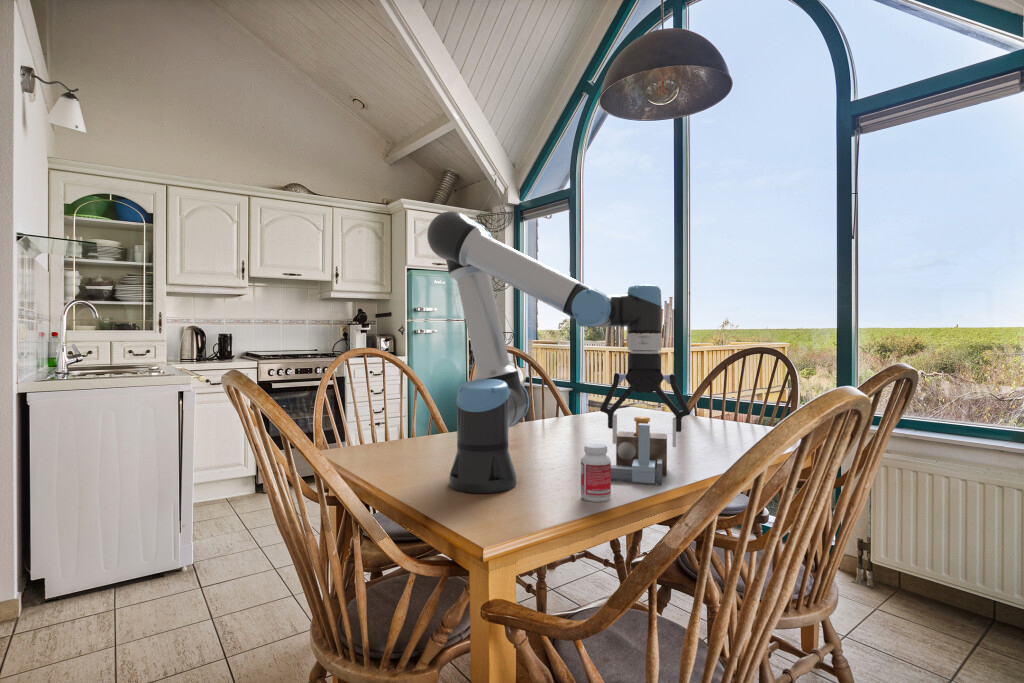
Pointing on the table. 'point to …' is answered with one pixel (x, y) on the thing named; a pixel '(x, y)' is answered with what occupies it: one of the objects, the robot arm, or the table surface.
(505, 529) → the table surface
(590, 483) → the pill bottle
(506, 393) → the robot arm
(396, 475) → the table surface
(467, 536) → the table surface
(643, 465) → the carriage
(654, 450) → the cabinet
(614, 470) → the grey u-shaped bracket
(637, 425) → the peg
